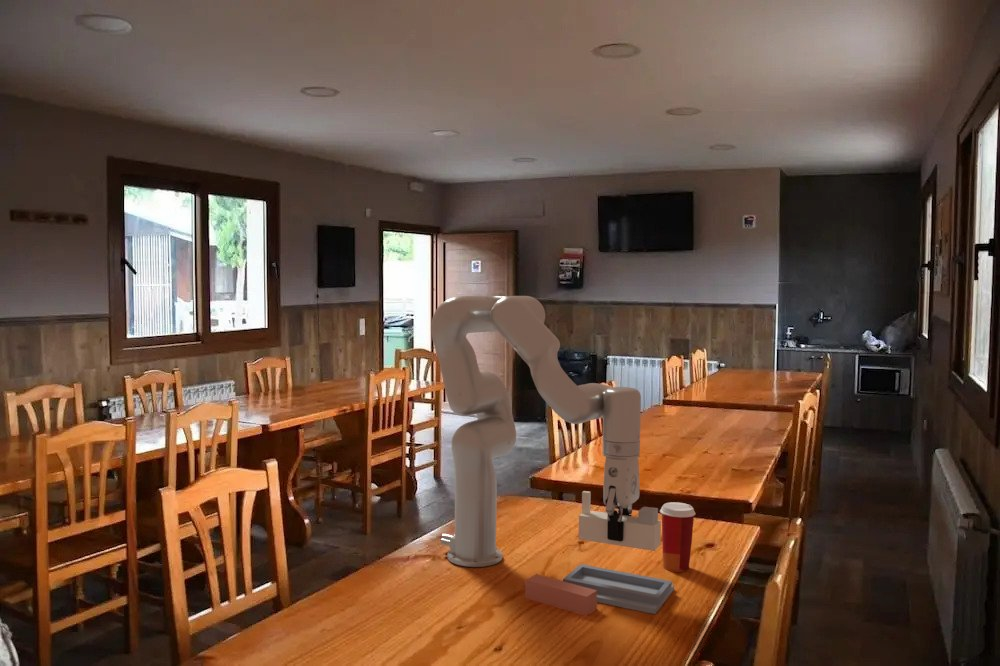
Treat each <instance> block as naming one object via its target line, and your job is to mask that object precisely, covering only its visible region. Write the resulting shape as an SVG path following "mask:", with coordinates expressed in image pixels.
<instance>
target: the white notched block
mask: <svg viewBox="0 0 1000 666" xmlns="http://www.w3.org/2000/svg"><path fill="white" fill-rule="evenodd" d="M591 494H592V493H591V491H588V490H587V491H586V490H583V491H582V492H581V513H580V514H579V515H578V540H580V541H581V540H582V541H587V542H593V543H601V544H607V545H614V546H620V547H627V548H633V549H639V550H645V551H651V552H655V551H656V550H657V549H658V548H659V547H660V546H661V545H662V544H661V541H662V540H661V537H662V519H659V508H658V507H648V506H642V507H641V508H640V509H639V510H638V514H637V515H638V516H633V515H632V516H626V515H622V521H623V522H624V531H623V541H614V540H609V539H608V538H607V530H608V520H607V516H608V514H607V512H604V511H596V510H591V507H592V506H591V503H592V502H591V498H592V497H591Z"/></svg>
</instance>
